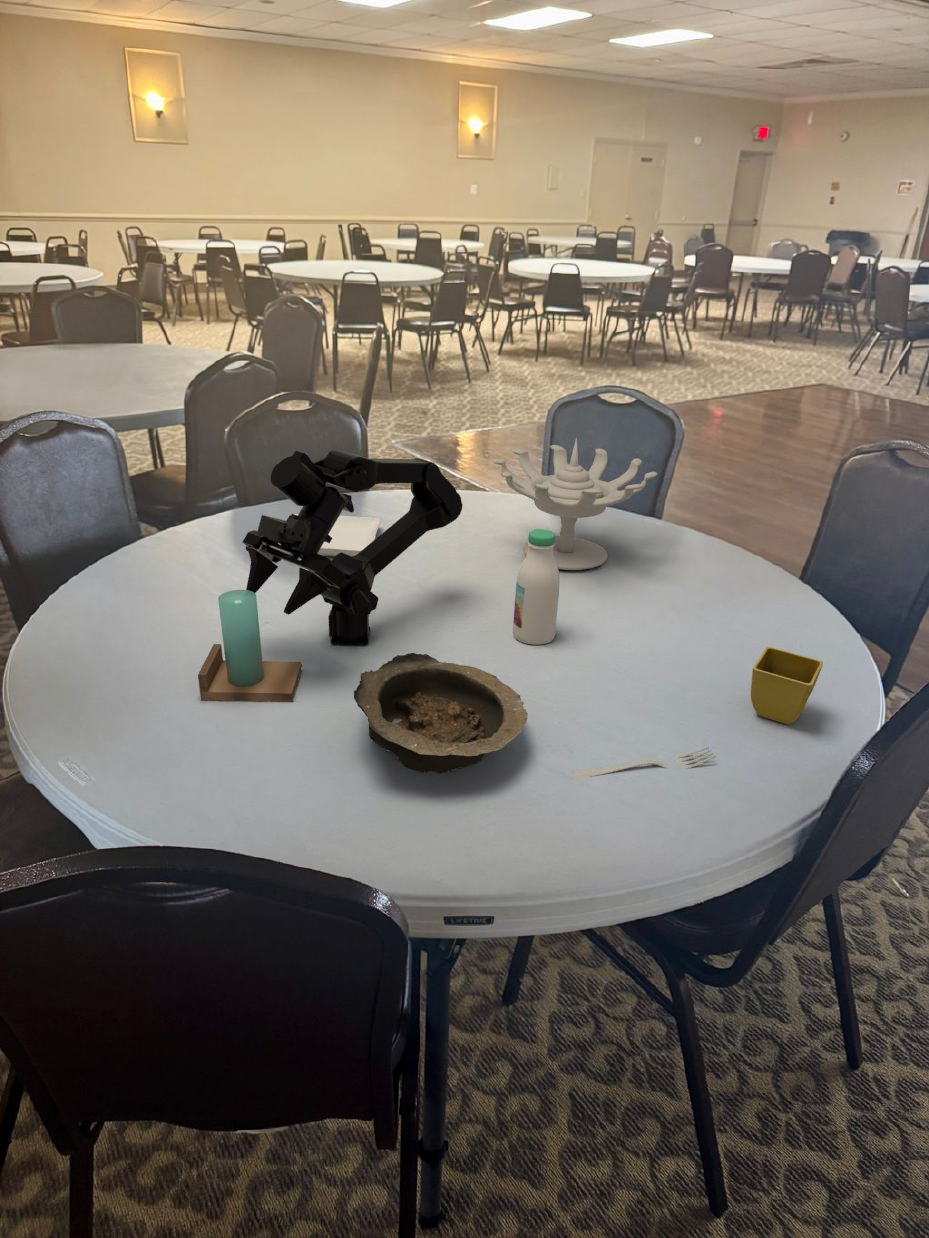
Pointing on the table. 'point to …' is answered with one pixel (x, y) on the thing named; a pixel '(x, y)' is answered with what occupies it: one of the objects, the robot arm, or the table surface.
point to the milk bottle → (537, 591)
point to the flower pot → (782, 684)
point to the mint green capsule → (241, 637)
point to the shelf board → (271, 688)
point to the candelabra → (573, 499)
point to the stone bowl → (438, 712)
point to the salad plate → (350, 535)
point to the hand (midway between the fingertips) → (266, 604)
